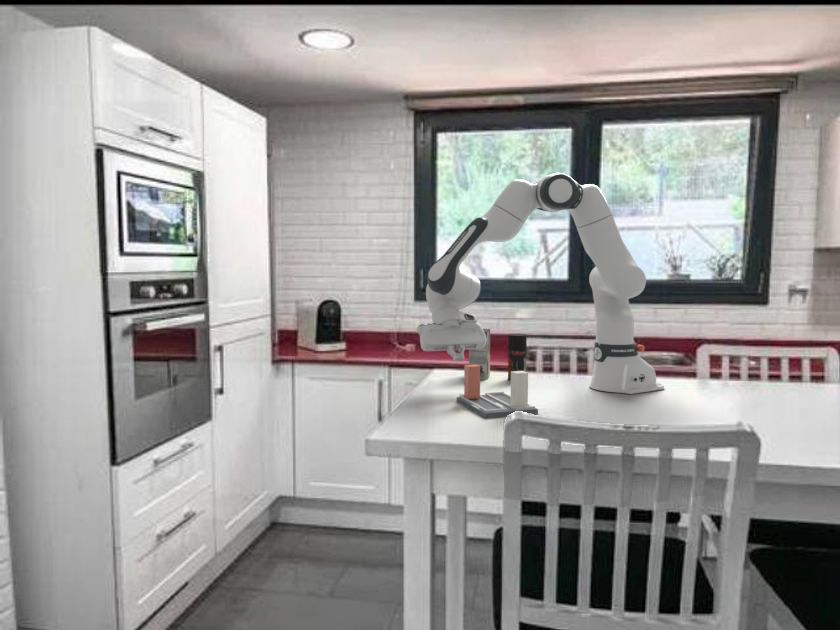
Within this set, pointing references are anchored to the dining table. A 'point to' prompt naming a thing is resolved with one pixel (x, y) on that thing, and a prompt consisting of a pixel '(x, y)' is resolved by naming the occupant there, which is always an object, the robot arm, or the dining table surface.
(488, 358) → the coffee box
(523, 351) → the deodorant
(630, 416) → the dining table surface
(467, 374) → the block
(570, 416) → the dining table surface
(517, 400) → the block
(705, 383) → the dining table surface
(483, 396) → the slotted fader panel
